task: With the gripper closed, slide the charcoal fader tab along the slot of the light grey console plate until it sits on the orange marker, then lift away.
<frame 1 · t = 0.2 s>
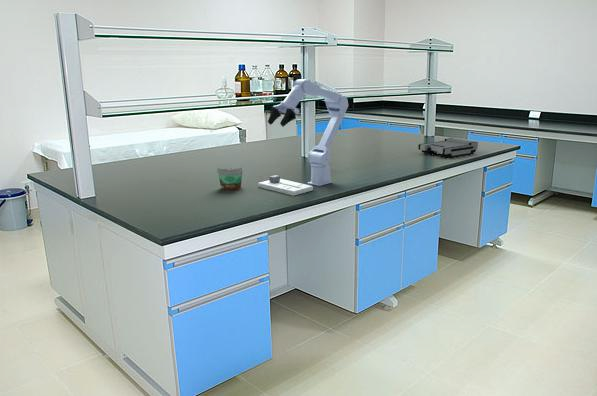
hand: (275, 124, 211), 31 cm above the worktop, tool tilted 45°, fingers open, 7 cm apart
fader console: (285, 188, 229), on the worktop
fader tab: (274, 178, 233), point 4 cm above the worktop, slide at -7.0 cm
game console: (447, 155, 314), on the worktop
food container: (231, 189, 228), on the worktop
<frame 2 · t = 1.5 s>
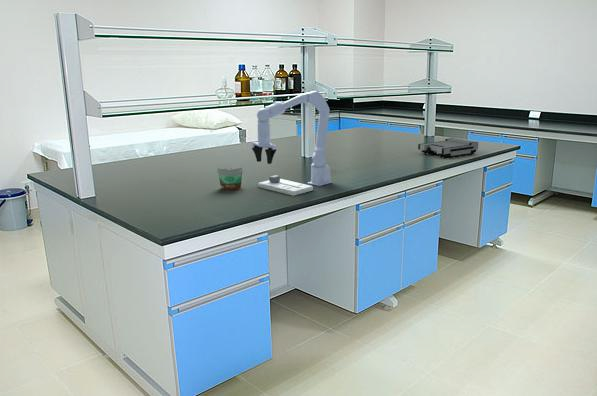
hand: (264, 162, 236), 10 cm above the worktop, tool pointing down, fingers open, 7 cm apart
nothing on the worktop moved.
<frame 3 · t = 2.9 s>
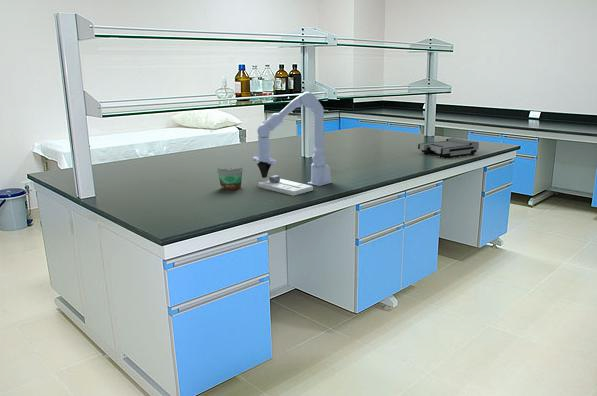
hand: (264, 177, 238), 3 cm above the worktop, tool pointing down, fingers closed
nothing on the worktop moved.
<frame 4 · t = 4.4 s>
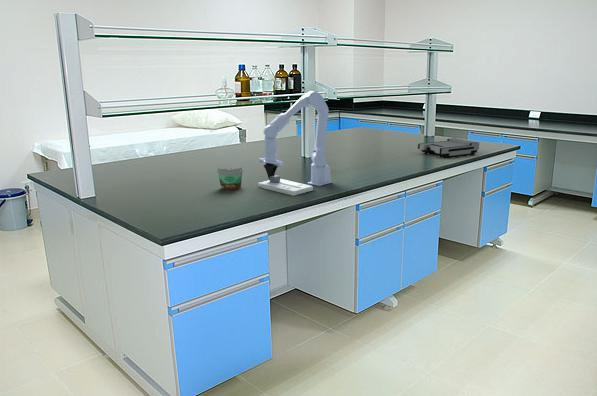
hand: (271, 179, 235), 3 cm above the worktop, tool pointing down, fingers closed
fader tab: (274, 178, 233), point 4 cm above the worktop, slide at -6.8 cm, touching gripper
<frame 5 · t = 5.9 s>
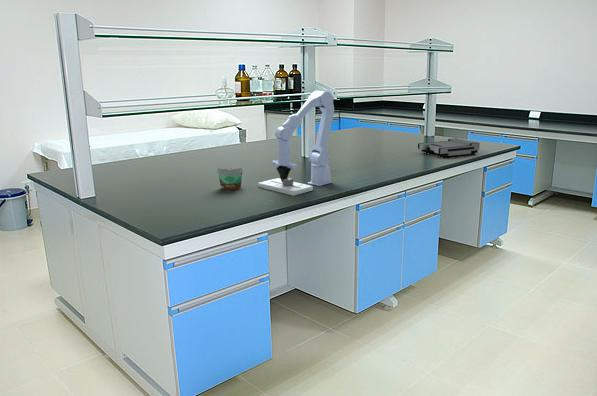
hand: (284, 182, 229), 3 cm above the worktop, tool pointing down, fingers closed
fader tab: (288, 181, 227), point 4 cm above the worktop, slide at 1.9 cm, touching gripper
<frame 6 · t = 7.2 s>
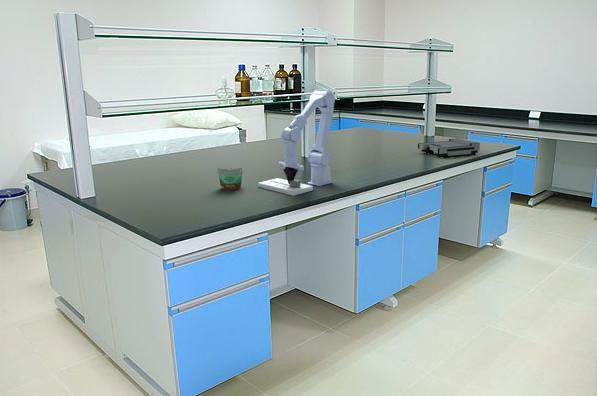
hand: (290, 183, 226), 3 cm above the worktop, tool pointing down, fingers closed
fader tab: (295, 183, 224), point 4 cm above the worktop, slide at 6.3 cm, touching gripper
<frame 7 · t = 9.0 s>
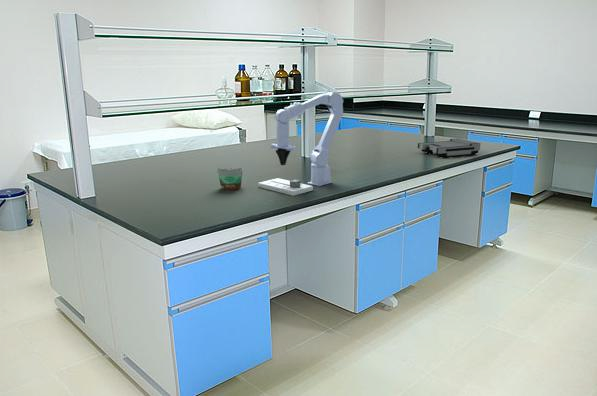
hand: (283, 164, 231), 10 cm above the worktop, tool pointing down, fingers closed
fader tab: (295, 183, 224), point 4 cm above the worktop, slide at 6.4 cm
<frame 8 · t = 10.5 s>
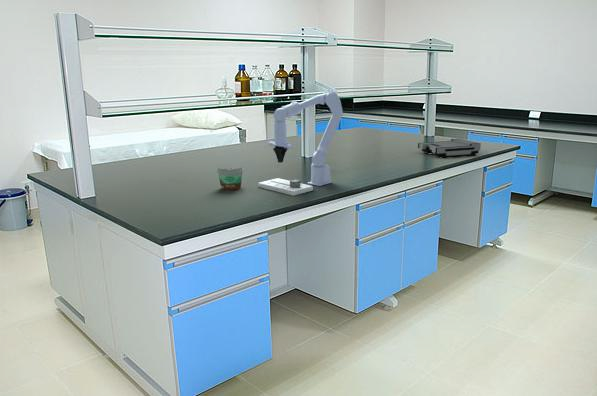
hand: (280, 162, 237), 10 cm above the worktop, tool pointing down, fingers closed
at the end: fader tab slide at 6.4 cm; food container moved 0.2 cm from its start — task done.
